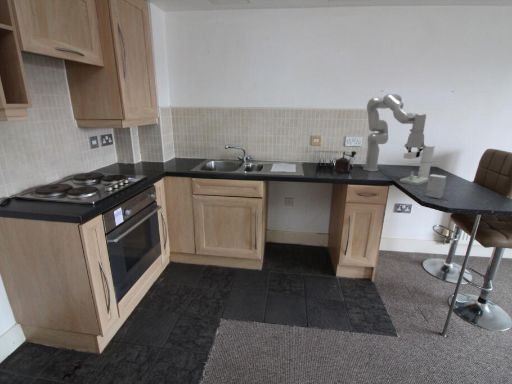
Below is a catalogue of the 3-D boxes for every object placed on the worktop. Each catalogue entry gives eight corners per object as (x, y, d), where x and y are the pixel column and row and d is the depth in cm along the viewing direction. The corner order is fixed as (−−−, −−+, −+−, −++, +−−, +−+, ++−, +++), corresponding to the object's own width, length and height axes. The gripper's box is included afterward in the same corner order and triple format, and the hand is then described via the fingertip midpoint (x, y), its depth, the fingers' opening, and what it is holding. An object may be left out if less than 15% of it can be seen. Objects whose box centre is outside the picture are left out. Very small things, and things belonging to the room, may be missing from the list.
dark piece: (334, 171, 237) (336, 149, 232) (337, 169, 247) (339, 148, 241) (353, 173, 230) (356, 151, 225) (355, 171, 240) (358, 150, 235)
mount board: (399, 182, 206) (401, 171, 204) (411, 177, 220) (413, 167, 218) (416, 185, 198) (419, 174, 195) (428, 181, 211) (430, 170, 209)
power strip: (403, 158, 202) (404, 153, 201) (415, 155, 215) (415, 151, 214) (410, 159, 199) (411, 154, 198) (422, 156, 211) (423, 151, 210)
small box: (442, 196, 173) (447, 176, 169) (440, 198, 169) (444, 177, 165) (427, 193, 178) (431, 173, 175) (425, 195, 174) (429, 175, 170)
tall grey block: (422, 179, 217) (429, 146, 210) (415, 176, 224) (421, 145, 217) (430, 178, 219) (436, 146, 212) (422, 176, 226) (429, 145, 219)
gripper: (402, 130, 206) (399, 155, 210) (428, 132, 193) (423, 158, 198) (407, 130, 210) (403, 155, 215) (432, 132, 198) (427, 157, 203)
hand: (413, 156), depth 206 cm, fingers closed on power strip, 5 cm apart
